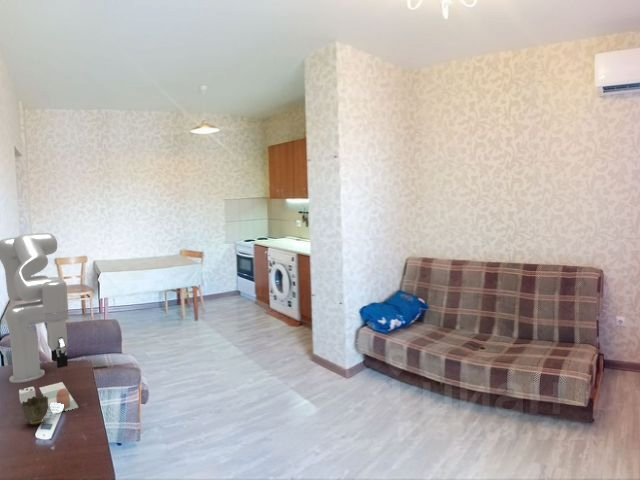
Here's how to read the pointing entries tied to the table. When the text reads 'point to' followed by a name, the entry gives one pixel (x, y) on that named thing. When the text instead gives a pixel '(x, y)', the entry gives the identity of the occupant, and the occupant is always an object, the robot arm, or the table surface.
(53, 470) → the table surface
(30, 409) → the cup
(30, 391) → the die
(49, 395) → the board
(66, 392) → the pawn
